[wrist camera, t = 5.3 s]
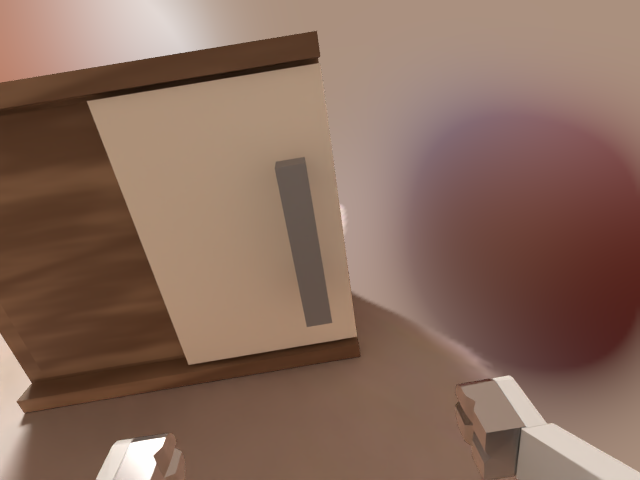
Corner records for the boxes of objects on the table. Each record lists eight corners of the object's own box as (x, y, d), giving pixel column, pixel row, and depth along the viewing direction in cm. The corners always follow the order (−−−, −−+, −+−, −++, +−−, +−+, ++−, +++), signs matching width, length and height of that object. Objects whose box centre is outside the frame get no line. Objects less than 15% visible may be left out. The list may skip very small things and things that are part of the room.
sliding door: (366, 373, 25) (326, 59, 17) (173, 405, 24) (44, 105, 17) (355, 328, 29) (319, 63, 21) (191, 355, 29) (95, 100, 21)
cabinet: (360, 356, 28) (316, 31, 19) (24, 412, 28) (-179, 111, 19) (336, 262, 43) (305, 51, 34) (114, 299, 42) (24, 97, 33)
